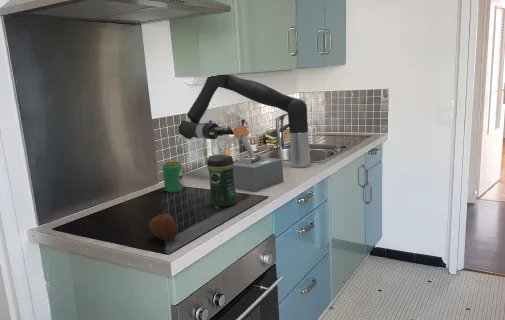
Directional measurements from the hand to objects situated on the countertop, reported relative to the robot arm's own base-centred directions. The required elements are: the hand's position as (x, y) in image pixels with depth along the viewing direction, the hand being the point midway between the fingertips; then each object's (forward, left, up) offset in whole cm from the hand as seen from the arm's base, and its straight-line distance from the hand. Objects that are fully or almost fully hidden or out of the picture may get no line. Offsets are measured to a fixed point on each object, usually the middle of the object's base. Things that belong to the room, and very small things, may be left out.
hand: (233, 132), depth 186 cm
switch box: (0, +11, -22) cm, 25 cm away
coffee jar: (+27, +19, -23) cm, 40 cm away
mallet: (0, +11, -11) cm, 16 cm away
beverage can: (+24, -15, -23) cm, 36 cm away
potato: (+61, +29, -23) cm, 71 cm away
